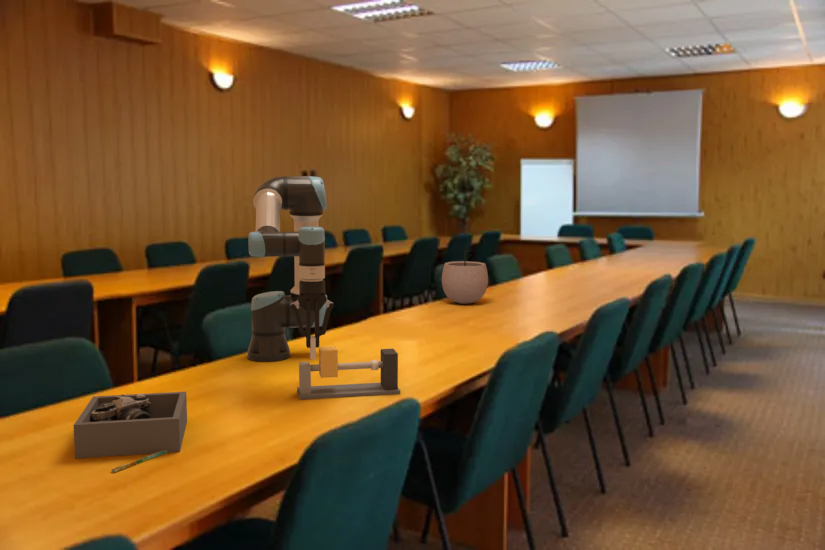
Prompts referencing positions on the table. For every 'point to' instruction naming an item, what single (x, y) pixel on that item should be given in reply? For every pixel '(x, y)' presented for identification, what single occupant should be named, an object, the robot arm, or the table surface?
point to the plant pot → (464, 280)
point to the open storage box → (133, 428)
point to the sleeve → (328, 361)
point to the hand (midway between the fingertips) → (312, 358)
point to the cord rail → (351, 390)
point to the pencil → (139, 461)
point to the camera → (123, 409)
